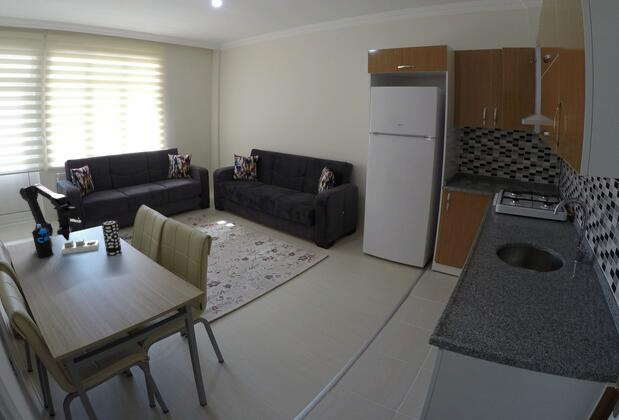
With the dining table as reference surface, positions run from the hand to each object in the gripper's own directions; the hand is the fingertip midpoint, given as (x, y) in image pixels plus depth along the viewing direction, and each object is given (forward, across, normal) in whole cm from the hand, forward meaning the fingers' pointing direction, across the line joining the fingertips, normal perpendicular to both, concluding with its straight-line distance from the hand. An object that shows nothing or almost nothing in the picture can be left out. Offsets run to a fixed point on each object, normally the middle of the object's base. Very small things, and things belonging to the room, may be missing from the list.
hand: (68, 240), depth 223 cm
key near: (+4, 0, 0) cm, 4 cm away
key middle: (+4, 0, -6) cm, 7 cm away
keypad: (+7, 0, -6) cm, 9 cm away
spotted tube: (+7, -16, -25) cm, 31 cm away
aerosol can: (+7, -3, +12) cm, 14 cm away
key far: (+6, 0, -12) cm, 13 cm away
